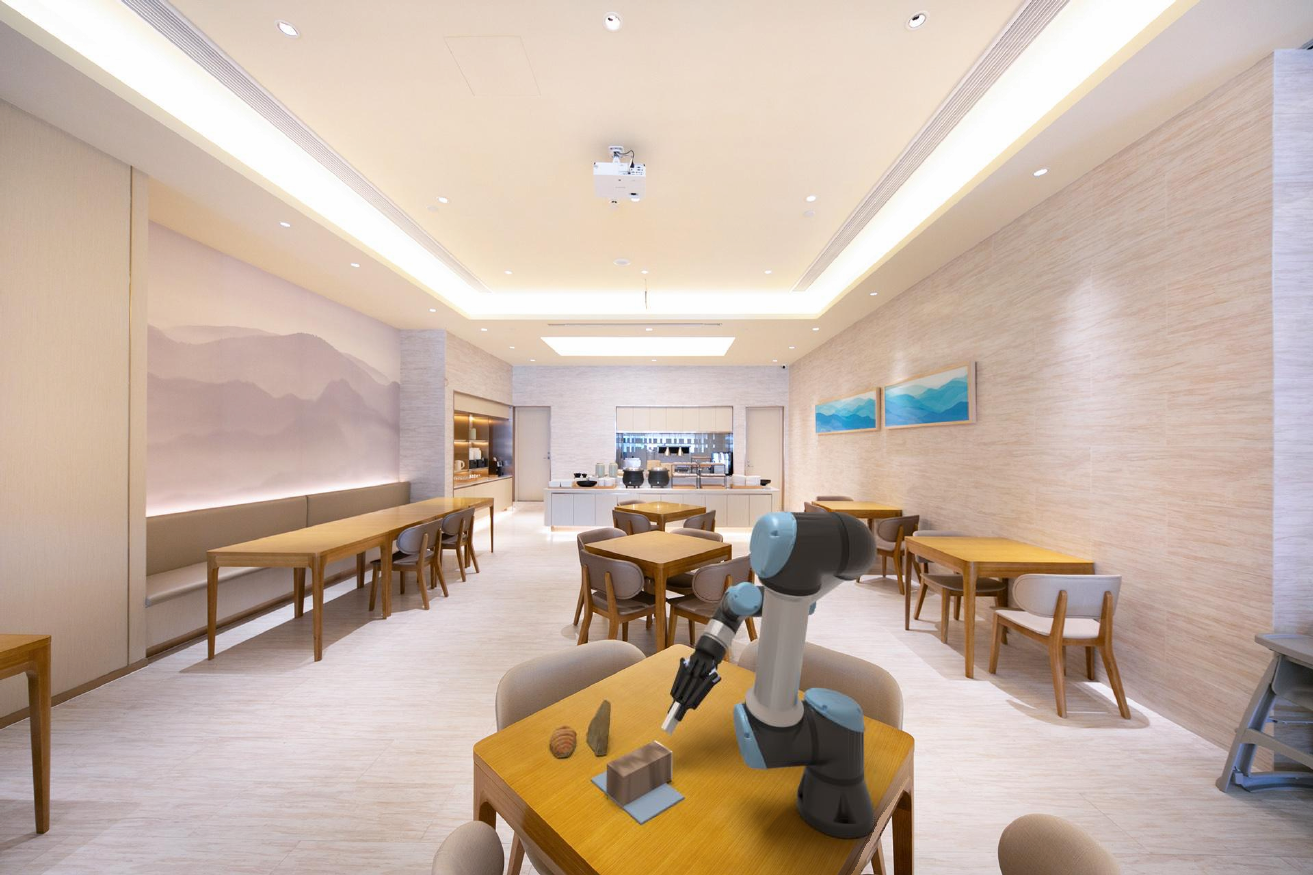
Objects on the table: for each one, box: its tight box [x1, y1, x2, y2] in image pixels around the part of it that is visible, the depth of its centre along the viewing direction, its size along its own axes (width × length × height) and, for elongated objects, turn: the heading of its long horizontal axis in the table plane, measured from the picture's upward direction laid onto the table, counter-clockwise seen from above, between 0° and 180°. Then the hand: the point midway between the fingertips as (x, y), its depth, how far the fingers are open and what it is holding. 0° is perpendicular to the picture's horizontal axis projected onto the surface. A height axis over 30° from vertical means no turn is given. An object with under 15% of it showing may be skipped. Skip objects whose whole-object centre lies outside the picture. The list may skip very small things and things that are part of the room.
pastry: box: [549, 724, 578, 759], centre depth 124 cm, size 9×7×4 cm
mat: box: [590, 770, 685, 826], centre depth 109 cm, size 18×12×1 cm, turn 41°
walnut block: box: [606, 740, 674, 806], centre depth 109 cm, size 6×6×14 cm
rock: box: [585, 699, 612, 756], centre depth 126 cm, size 11×9×10 cm
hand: (666, 731), depth 116 cm, fingers closed
